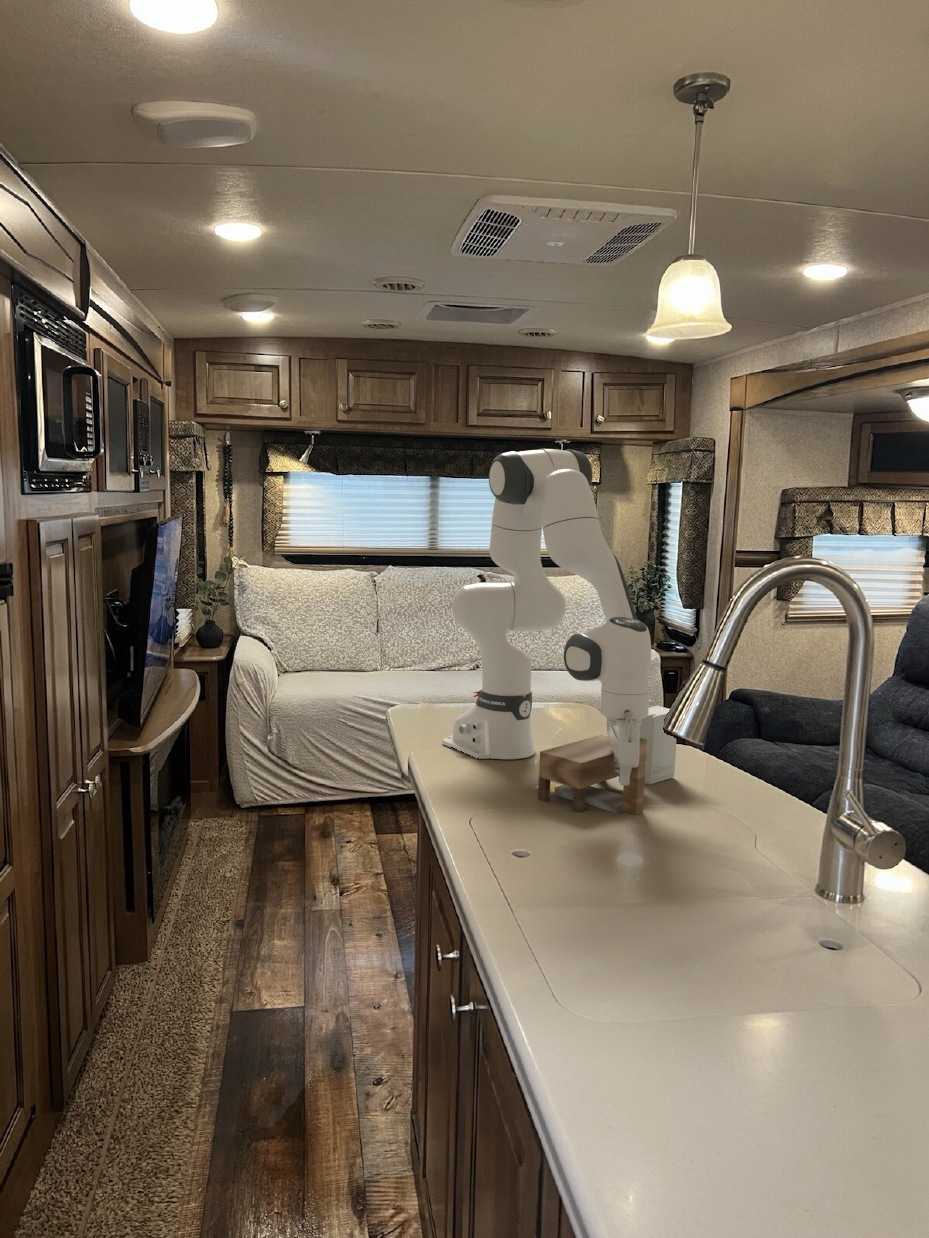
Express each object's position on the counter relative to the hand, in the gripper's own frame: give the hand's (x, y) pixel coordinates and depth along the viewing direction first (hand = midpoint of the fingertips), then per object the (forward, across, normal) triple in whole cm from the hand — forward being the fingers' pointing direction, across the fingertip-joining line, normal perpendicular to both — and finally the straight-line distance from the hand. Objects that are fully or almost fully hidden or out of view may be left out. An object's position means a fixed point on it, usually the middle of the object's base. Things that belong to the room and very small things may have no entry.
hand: (621, 777), depth 172 cm
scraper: (+6, +4, +3) cm, 8 cm away
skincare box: (+6, +22, -9) cm, 24 cm away
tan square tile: (+7, +11, +12) cm, 18 cm away
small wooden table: (+6, +9, +5) cm, 12 cm away
